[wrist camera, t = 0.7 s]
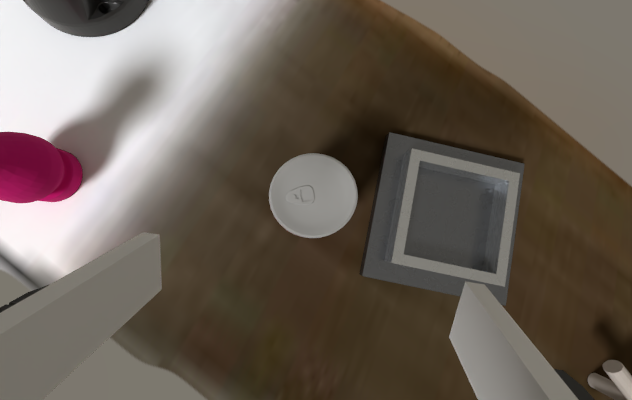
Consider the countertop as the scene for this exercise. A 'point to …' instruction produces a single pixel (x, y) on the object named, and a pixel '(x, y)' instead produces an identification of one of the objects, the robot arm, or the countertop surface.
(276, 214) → the canned food
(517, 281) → the countertop surface
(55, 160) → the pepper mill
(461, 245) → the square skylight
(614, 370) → the pipe connector
